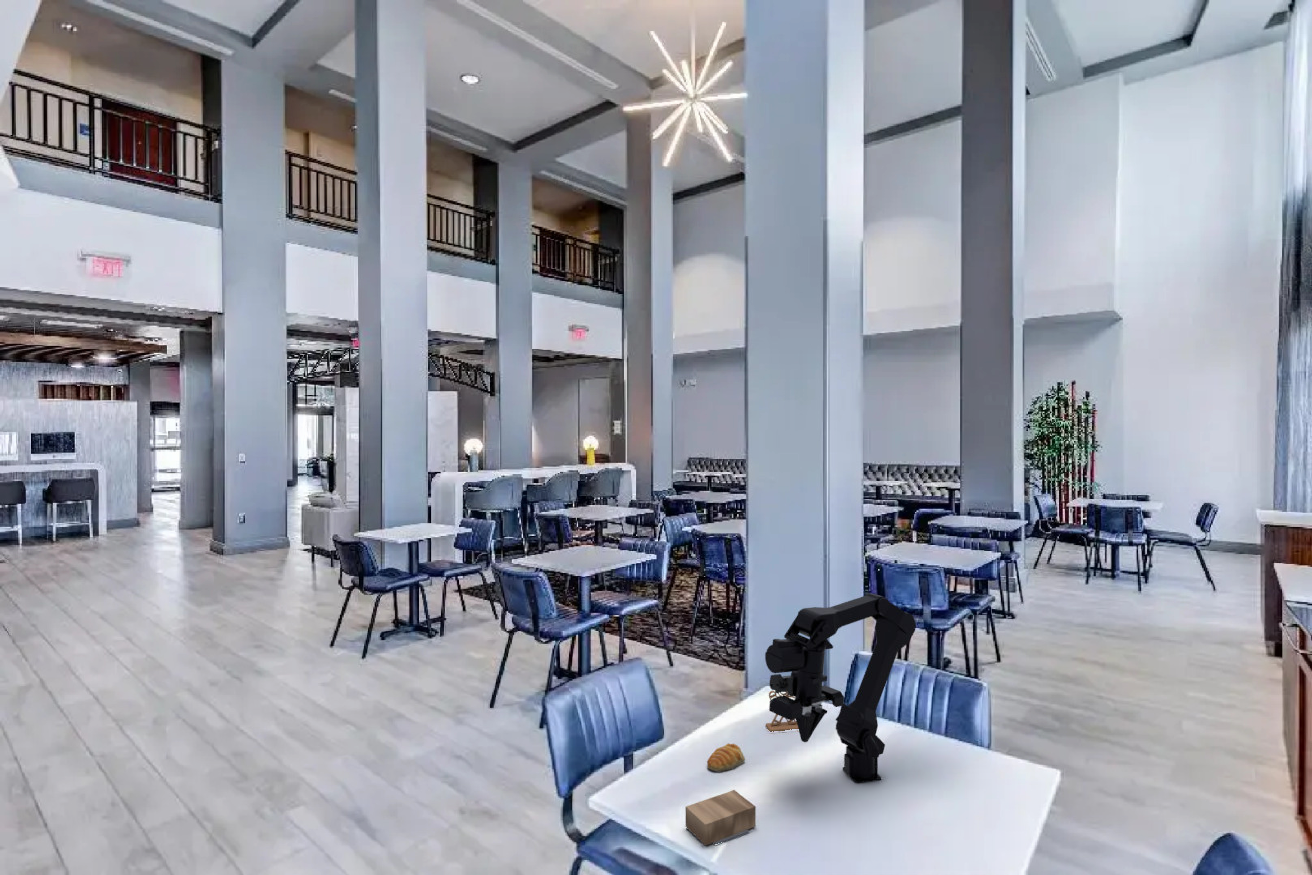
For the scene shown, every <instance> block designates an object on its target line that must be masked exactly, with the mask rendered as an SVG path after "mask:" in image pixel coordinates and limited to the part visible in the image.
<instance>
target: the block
mask: <svg viewBox="0 0 1312 875" xmlns="http://www.w3.org/2000/svg"><path fill="white" fill-rule="evenodd" d="M756 811H757V810H756V805H754V804H753V803H752V802H751V801H749V800H748V799H746V798H745V797H744V796H743V795H741V794H740V793H739V792H738V791H736V790H735V789H734V790H729V791H728V792H725V793H722V794H719V795H716V796H713V797H710V798H707V799H704V800H701V801H698V802H695V803H691V804H689V805H686V806H685V828H686V829H687V830H688V831H690V832H691V833H692V834H693V835H694V836H695V837H696V838H697V839H698V840H699V841H700V842H701V843H702V844H704V845H705V846H708V845H710V844H713V842H716V841H718V840H721V839H724V838H726V837H729V836H732V835H734V834H737V833H739V832H742V831H745V830H750V829H752V828H755V827H757V825H756V823H757V822H756V818H757V817H756Z"/></svg>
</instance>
